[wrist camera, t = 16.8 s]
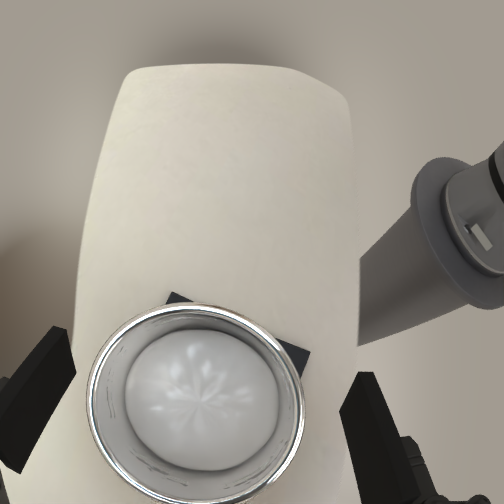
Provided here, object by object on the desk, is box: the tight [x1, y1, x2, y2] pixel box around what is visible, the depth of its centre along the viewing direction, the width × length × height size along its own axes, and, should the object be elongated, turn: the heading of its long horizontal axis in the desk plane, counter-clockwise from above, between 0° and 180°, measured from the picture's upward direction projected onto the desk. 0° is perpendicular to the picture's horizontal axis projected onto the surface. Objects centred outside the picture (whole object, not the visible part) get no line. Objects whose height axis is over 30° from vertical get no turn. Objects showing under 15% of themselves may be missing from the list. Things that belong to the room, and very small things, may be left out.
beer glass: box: [86, 302, 305, 504], centre depth 15 cm, size 7×7×15 cm
